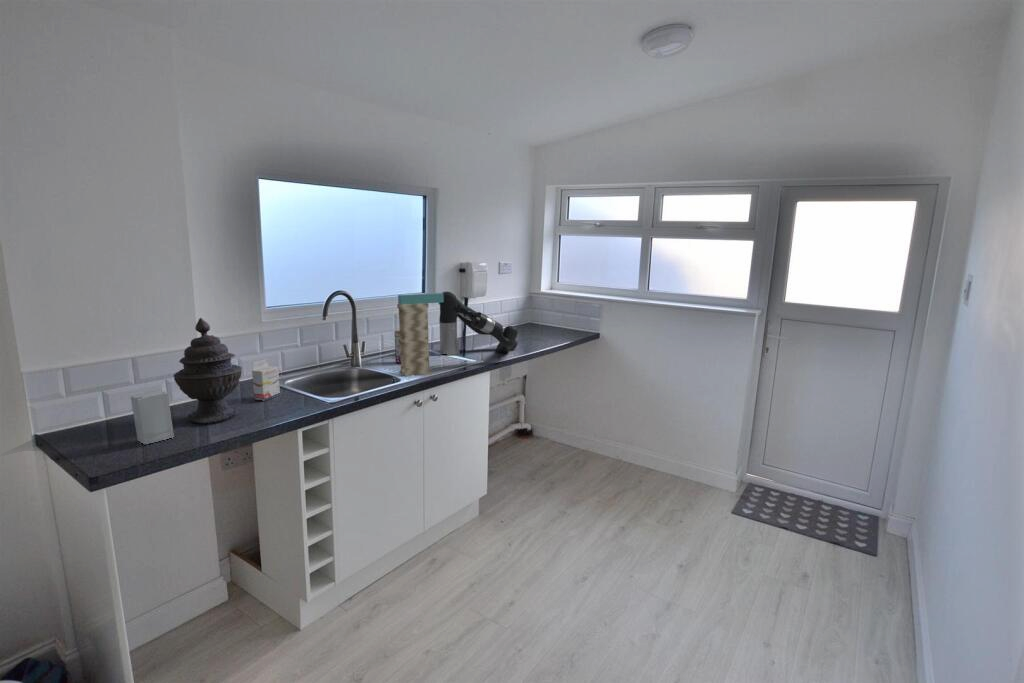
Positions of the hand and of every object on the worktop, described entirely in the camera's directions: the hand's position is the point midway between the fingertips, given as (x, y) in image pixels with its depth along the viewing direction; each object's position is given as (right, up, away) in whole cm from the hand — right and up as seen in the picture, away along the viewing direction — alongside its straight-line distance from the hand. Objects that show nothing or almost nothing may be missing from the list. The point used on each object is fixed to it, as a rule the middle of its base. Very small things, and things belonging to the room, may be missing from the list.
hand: (456, 308), depth 250 cm
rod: (-15, +2, -9) cm, 17 cm away
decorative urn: (-76, -42, -66) cm, 109 cm away
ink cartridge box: (-68, -38, -44) cm, 89 cm away
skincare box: (-82, -46, -88) cm, 128 cm away
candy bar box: (-26, -26, +18) cm, 41 cm away
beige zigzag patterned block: (-18, -30, -5) cm, 35 cm away
